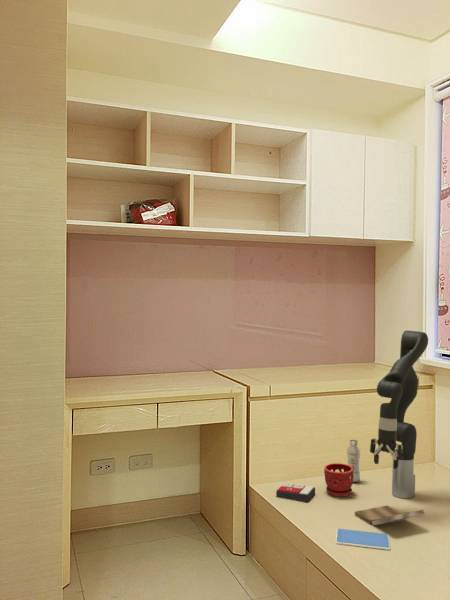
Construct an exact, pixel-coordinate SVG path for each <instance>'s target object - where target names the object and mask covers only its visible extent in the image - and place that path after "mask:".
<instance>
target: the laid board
mask: <svg viewBox="0 0 450 600" xmlns="http://www.w3.org/2000/svg"><path fill="white" fill-rule="evenodd" d="M398 514H403V513H402V512H400V511H399V510H397V509H395V508H393V507H392V506H389V505H383V506H377V507H372V508H368V509H362V510H356V511H354V516H355V517H357V518H358V519H360V520H362V521H363V522H365V523H367V524H369V525H370V526H373V524H372V521H375V520H378V519H382V518H386V517H389V516H393V515H398Z"/></svg>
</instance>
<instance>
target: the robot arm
mask: <svg viewBox="0 0 450 600" xmlns="http://www.w3.org/2000/svg"><path fill="white" fill-rule="evenodd" d="M428 345H429V337H428V334H427V333H426V332H423V331H418V330H417V331H415V330H405V331H403V332H402V335H401V338H400V348H399V349H400V354H399V356H400V357H399V359H397V360H396V361H395V362H394V363H393V365H392V367H391V369H390V370H389V372H388V373H387V374H386V375H385V376H384V377H382V378H381V380H380V381H379V382H378V383H377V385H376V393H377V394H378V396H380V397H381V398H388V399H390V400H389V402H383V403H381V404H380V407H379V408H380V409H379V420H378V425H377V426H378V429H377V430H378V431H377V432H378V433H377V437H378V438H371V439H370V445H369V446H370V447H369V452H370V453H371V454H373V463H374V464H375V465H378V464H379V463H380V455H379V454H380V453H381V452H383V453H388V454H390V455H391V456H392V464H391V465H392V467H391V468H392V470H391V471H392V473H391V474H392V475H391V477H392V478H391V480H392V481H391V494H392V495H393V497H396V498H398V499H399V498H400V499H411V498H414V497H415V496H416V474H414V473H415V472H414V470H415V469H414V465H415V463H414V462H415V453H416V450H417V448H416V447H417V437H418V435H417V434H418V433H417V428H416V426H415V425H414V424H412V423H408V422H405V416H406V412H407V410H408V408H409V407H410V406H411V404H412V403H413V401H414V400H415V399H416V397H417V394H418V388H419V378H418V375H417V373H416V371H415V369H414V367H413V366H414V365H415V363H416V362H417V361H418V360H420V357H421V356H422V355H423V354H424V352H425V351H426V350H427V348H428ZM397 442H398V443H400V444H398V443H397ZM376 445H378V447H377V448H376Z"/></svg>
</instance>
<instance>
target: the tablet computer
mask: <svg viewBox="0 0 450 600" xmlns="http://www.w3.org/2000/svg"><path fill="white" fill-rule="evenodd" d="M335 535H336V536H335V544H336V545H342V546H351V547H361V548H368V549H376V550H377V549H378V550H386V551H390V550H391V544H390V543H391V542H390V535H389V534H388V533H384V532H383V533H382V532H373V531H365V530H363V531H362V530H355V529H344V528H336V534H335Z"/></svg>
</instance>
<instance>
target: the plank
mask: <svg viewBox="0 0 450 600" xmlns="http://www.w3.org/2000/svg"><path fill="white" fill-rule="evenodd" d="M421 515H425V511H424V509H420V510H415V511H410V512H404V513H402V514H398V515H393V516H389V517H386V518H382V519H378V520H375V521H372V526H376V525H381V524H386V523H391V522H395V521H401V520H405V519H410V518H413V517H419V516H421Z"/></svg>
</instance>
